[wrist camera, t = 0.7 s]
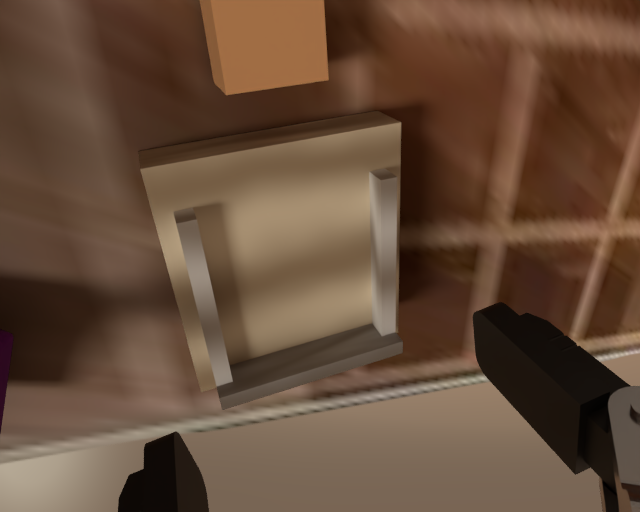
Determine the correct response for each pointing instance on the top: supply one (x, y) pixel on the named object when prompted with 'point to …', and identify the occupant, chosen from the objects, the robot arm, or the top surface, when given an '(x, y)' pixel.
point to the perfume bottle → (4, 366)
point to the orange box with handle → (265, 43)
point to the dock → (282, 250)
